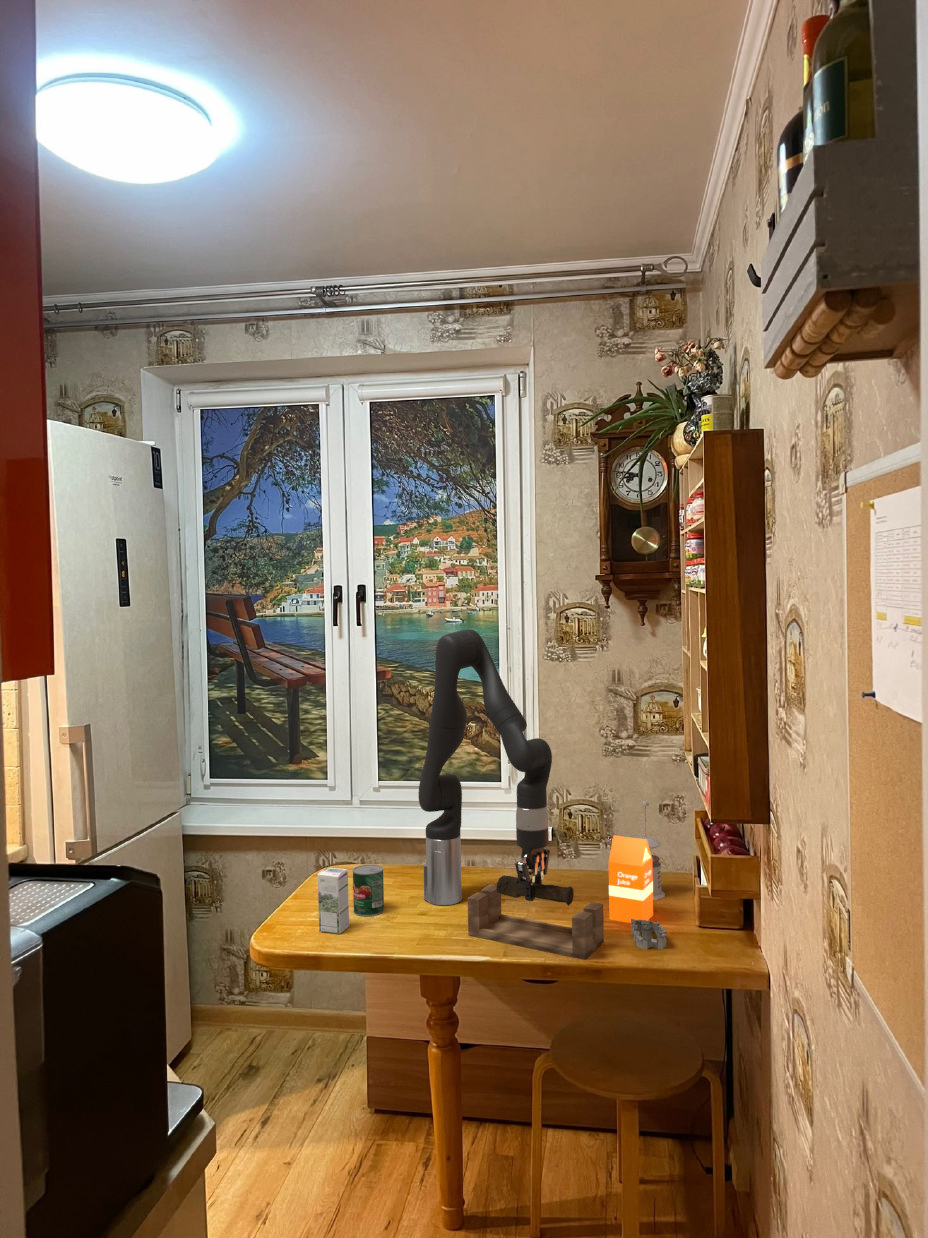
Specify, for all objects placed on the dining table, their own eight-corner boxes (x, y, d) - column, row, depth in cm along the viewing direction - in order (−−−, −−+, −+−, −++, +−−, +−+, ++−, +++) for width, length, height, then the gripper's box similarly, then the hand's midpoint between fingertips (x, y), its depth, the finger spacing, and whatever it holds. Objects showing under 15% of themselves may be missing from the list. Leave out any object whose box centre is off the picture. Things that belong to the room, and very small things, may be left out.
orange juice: (619, 909, 229) (618, 831, 228) (653, 915, 225) (652, 835, 224) (608, 919, 222) (607, 839, 222) (643, 925, 218) (642, 844, 217)
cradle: (468, 935, 214) (467, 898, 214) (490, 920, 224) (490, 884, 223) (584, 960, 199) (584, 919, 198) (603, 942, 208) (603, 904, 208)
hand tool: (575, 902, 208) (575, 882, 208) (568, 907, 205) (568, 887, 204) (502, 890, 217) (501, 871, 217) (494, 895, 214) (494, 876, 214)
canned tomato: (348, 915, 229) (347, 872, 229) (361, 904, 237) (359, 863, 236) (377, 918, 227) (376, 875, 226) (389, 907, 234) (387, 865, 234)
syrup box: (350, 926, 222) (348, 868, 221) (339, 935, 216) (337, 875, 216) (329, 924, 224) (328, 866, 223) (318, 932, 218) (316, 873, 217)
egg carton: (668, 951, 203) (667, 933, 203) (634, 951, 204) (634, 933, 204) (661, 932, 214) (661, 915, 214) (629, 932, 215) (629, 915, 214)
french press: (663, 888, 244) (661, 796, 244) (668, 903, 233) (666, 807, 232) (626, 887, 245) (625, 796, 245) (629, 902, 234) (628, 807, 233)
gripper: (533, 834, 202) (534, 910, 203) (559, 820, 214) (561, 891, 215) (503, 830, 206) (505, 904, 207) (531, 816, 218) (532, 886, 219)
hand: (533, 897), depth 211 cm, fingers closed on hand tool, 3 cm apart
